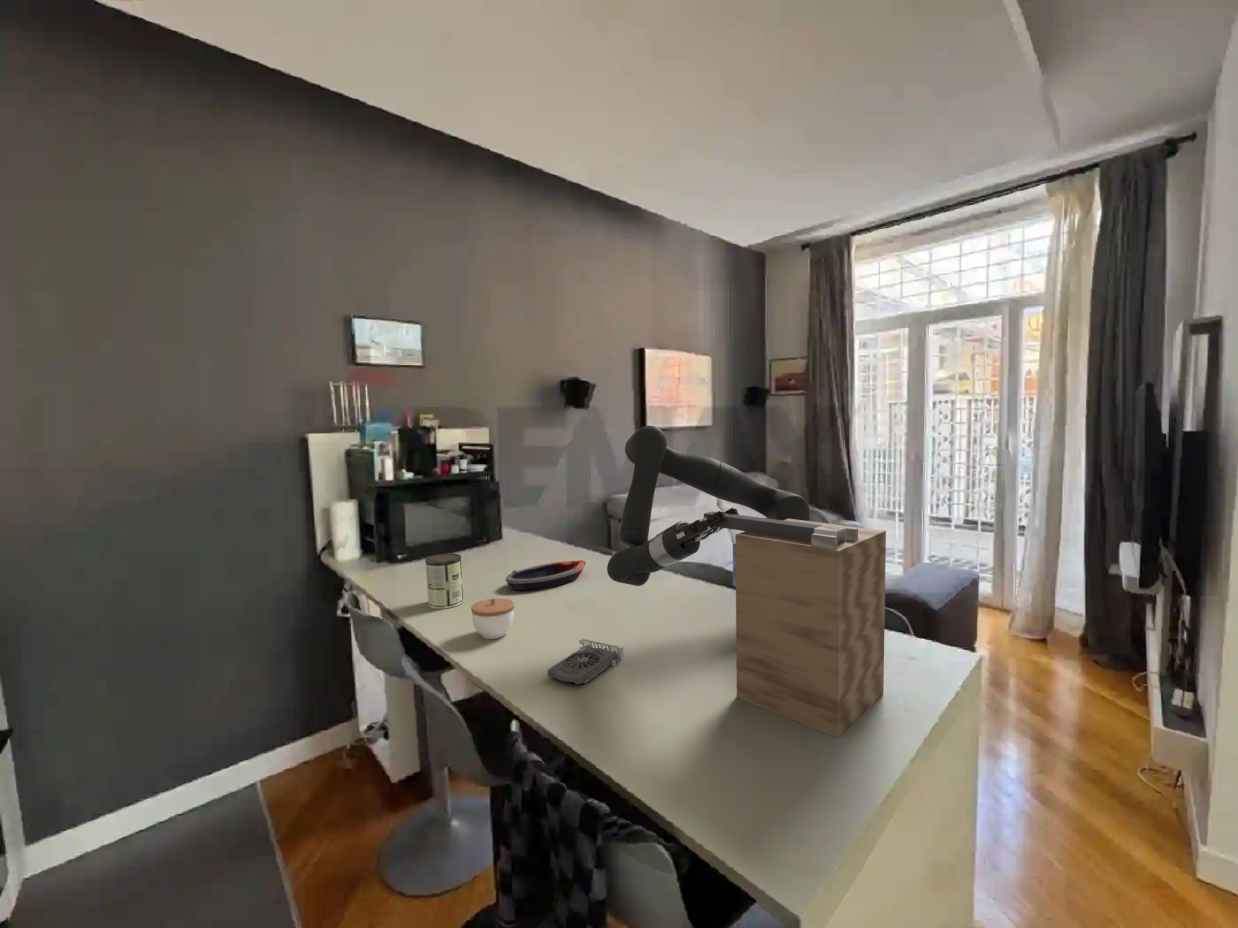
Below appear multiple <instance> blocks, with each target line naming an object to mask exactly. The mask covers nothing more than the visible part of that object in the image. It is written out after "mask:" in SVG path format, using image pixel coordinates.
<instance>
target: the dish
mask: <svg viewBox="0 0 1238 928" xmlns="http://www.w3.org/2000/svg"><path fill="white" fill-rule="evenodd" d="M585 567H586V561H585V560H583V559H582V560H581V559H580V560H579V559H578V560H565V561H558V562H557V561H556V562H549V563H544V564H538V565H534V566H531V567H526V568H522V569H519V570H517V569H515V570H512V572H510V573H509V574H508V575H507V576H506V577H505V582H506V583H507V585H508V586H509V587H510V588H511V589H513V590H518V591H519V590H520V591H532V590H539V589H540V590H541V589H546V588H552V587H556V586H559V585H563V584H566V583H570V582H572V581H574V580H576V579H578V578H579V577H580V575H581V574H582V572H583V570H584V568H585Z"/></svg>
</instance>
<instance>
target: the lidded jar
mask: <svg viewBox="0 0 1238 928" xmlns="http://www.w3.org/2000/svg"><path fill="white" fill-rule="evenodd" d="M470 610H471V617H472V623H473V626H474V628H475V630H476V632H478V634H480V636H482V638H484V639H489V640H494V639H500V638H503V637H504V636H506V635H507V633H508V632H509V631H510V629H511V628H512V626H513V624H514V620H515V602H514V601H513V600H512V599H509V598H504V597H503V598H502V597H501V598H499V597H491V598H488V599H483V600H479V601H477V602H475V603H473V604H472V605H471V608H470Z"/></svg>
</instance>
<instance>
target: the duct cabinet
mask: <svg viewBox="0 0 1238 928" xmlns="http://www.w3.org/2000/svg"><path fill="white" fill-rule="evenodd" d="M783 521H790V522H798V523H806V524H814V525H822V526H831V527H839V528H845V542H844V543H841V544H839V545H838V536H831V535H824V534H817V533H814V534H811V541H806V540H799V539H793V538H786V537H779V536H773V535H766V534H760V533H753V532H746V531H741V532H738V533H735V543H733V544H732V586H734V587H735V636H736V638H735V640H736V641H735V642H736V644H735V645H736V649H735V650H736V651H735V655H736V658H735V659H736V660H735V661H736V698H739V699H741V700H744V701H746V702H748V703H751V704H754V705H755V706H759V707H761V708H762V709H763V708H764V709H766V710H768V711H771V712H773V713H776V714H778V715H781V716H782V717H786V718H788V719H790V720H793V721H796V722H799V723H800V724H803V725H805V726H808V727H811V728H813V729H815V730H818V731H820V732H822V733H825V734H828V735H831V736H833V737H835V738H837V739H838V738H839V737H840V736H841V735H843V734H844V733H845V732H846V731H847V730H848V729H849V728H850V727H851V726H852V725H853V724H854V723H855V722H856V721H857V720H858V719H859V718H860V717H861V716H862V715H863V714H865V712H867V710H869V708H870V707H872V706H873V705H874V704H875V703H876V702H877V701H878V700H879V699H880V698H881V697H882V696H883V695H884V683H885V681H884V679H885V677H884V675H885V672H884V671H885V621H886V620H885V618H886V616H885V613H886V610H885V609H886V557H887V556H886V554H887V553H886V551H887V550H886V548H887V546H886V544H887V530H882V529H876V528H868V527H867V528H866V527H858V526H852V525H851V526H850V525H844V524H843V525H842V524H834V523H829V522H828V523H827V522H819V521H803V520H795V519H786V520H783Z"/></svg>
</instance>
